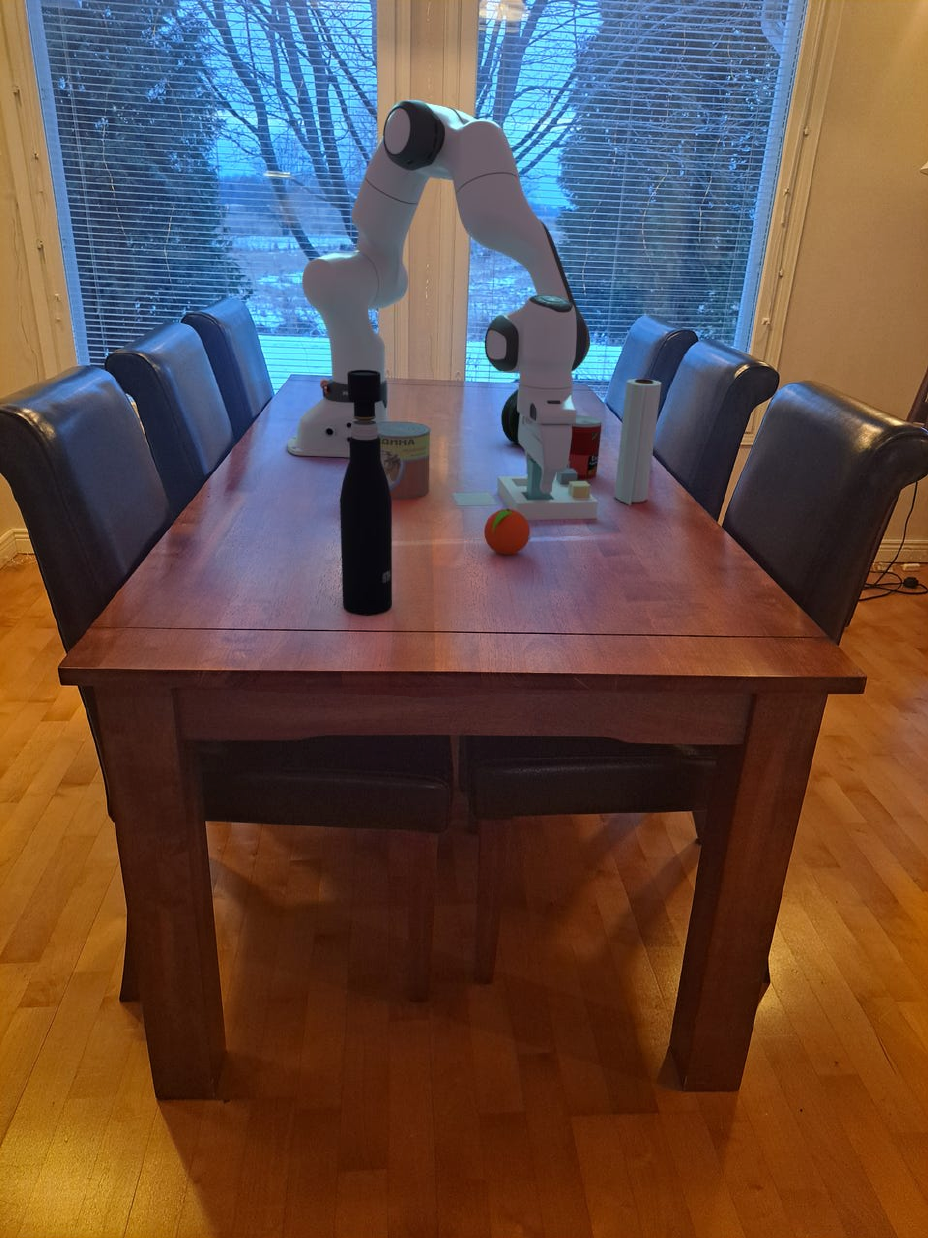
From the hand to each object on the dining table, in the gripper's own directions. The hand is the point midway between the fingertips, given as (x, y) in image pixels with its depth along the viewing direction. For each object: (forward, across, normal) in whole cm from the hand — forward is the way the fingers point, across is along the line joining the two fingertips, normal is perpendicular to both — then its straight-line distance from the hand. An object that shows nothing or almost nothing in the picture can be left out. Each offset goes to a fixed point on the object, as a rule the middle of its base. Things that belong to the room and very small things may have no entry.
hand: (538, 483), depth 150 cm
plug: (+5, 0, 0) cm, 5 cm away
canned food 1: (+6, -14, -22) cm, 27 cm away
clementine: (+6, +18, -10) cm, 21 cm away
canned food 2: (+6, -25, +14) cm, 29 cm away
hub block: (+6, -4, +2) cm, 7 cm away
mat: (+6, -8, -10) cm, 14 cm away
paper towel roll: (+6, -8, +20) cm, 22 cm away
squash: (+6, -50, +12) cm, 52 cm away
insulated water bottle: (+6, +35, -32) cm, 47 cm away
